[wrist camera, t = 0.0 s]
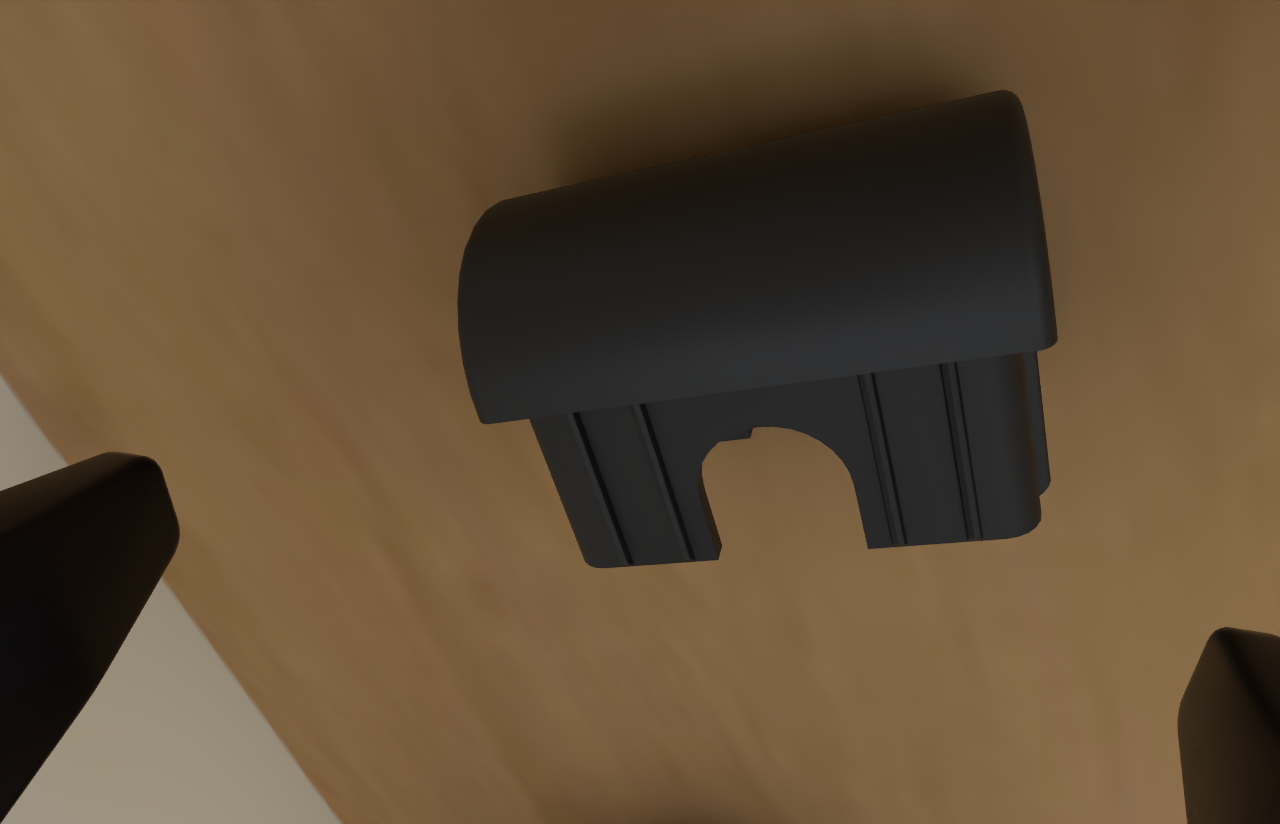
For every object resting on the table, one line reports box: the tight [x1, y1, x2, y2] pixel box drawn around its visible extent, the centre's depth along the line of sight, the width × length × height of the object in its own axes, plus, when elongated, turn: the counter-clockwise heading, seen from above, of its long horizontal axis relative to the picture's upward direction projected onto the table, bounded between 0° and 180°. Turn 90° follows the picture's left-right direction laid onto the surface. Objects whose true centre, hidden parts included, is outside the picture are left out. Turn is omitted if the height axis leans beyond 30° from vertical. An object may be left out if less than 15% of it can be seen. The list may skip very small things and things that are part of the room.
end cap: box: [457, 90, 1058, 568], centre depth 19 cm, size 10×7×7 cm
